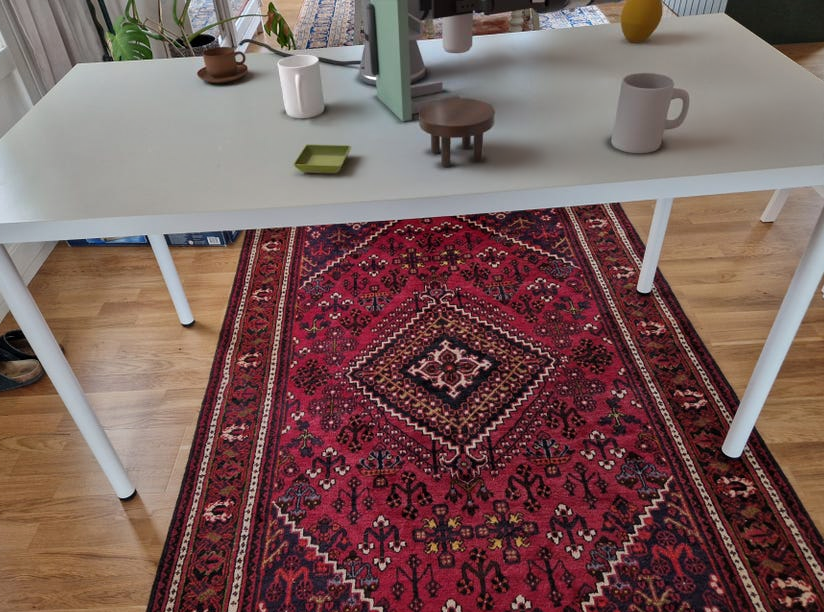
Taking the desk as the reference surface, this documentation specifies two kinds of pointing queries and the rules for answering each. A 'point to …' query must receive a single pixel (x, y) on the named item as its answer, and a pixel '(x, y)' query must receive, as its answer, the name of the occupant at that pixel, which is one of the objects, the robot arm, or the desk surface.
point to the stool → (456, 125)
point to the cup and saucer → (222, 65)
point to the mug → (645, 112)
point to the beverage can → (457, 33)
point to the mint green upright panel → (396, 57)
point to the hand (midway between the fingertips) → (426, 4)
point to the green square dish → (322, 158)
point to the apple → (640, 18)
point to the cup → (301, 86)
